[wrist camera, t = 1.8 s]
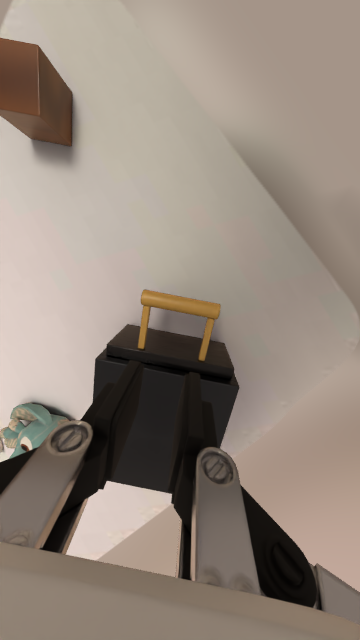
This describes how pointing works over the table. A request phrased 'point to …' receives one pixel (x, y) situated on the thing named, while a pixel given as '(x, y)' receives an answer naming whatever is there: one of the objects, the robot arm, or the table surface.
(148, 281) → the table surface
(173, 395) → the cabinet
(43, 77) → the block
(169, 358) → the drawer
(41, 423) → the stuffed animal
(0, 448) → the hard drive
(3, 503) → the robot arm
